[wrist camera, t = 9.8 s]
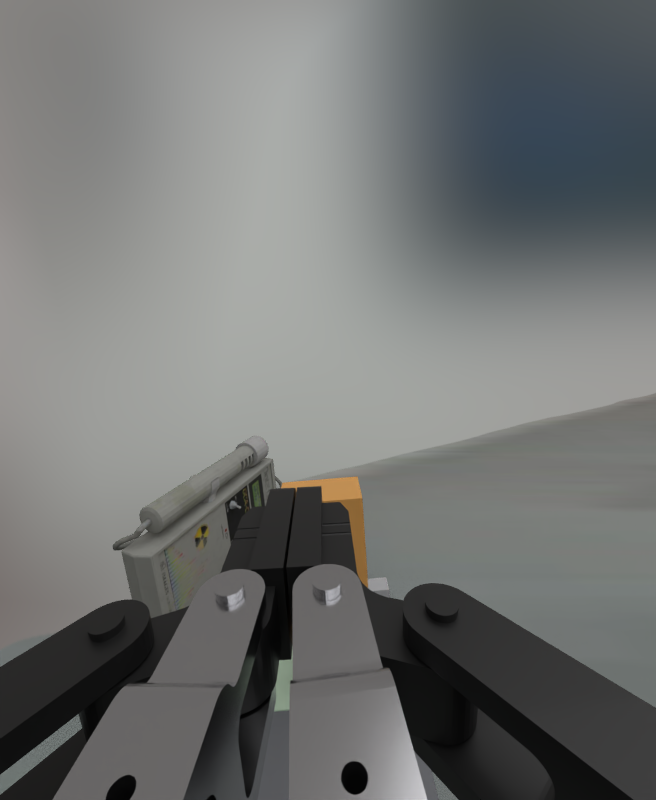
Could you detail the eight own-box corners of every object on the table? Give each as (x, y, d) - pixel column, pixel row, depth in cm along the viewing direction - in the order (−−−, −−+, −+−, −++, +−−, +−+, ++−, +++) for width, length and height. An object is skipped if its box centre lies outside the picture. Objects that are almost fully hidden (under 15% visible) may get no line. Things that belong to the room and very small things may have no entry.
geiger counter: (151, 521, 26) (296, 421, 49) (87, 512, 28) (254, 420, 51) (182, 680, 29) (305, 516, 52) (122, 660, 31) (266, 511, 54)
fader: (375, 689, 25) (362, 498, 22) (300, 696, 25) (277, 505, 22) (369, 650, 27) (357, 476, 24) (302, 656, 27) (282, 482, 24)
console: (565, 1370, 9) (572, 1318, 9) (178, 1402, 9) (158, 1353, 9) (387, 604, 35) (386, 577, 34) (282, 613, 35) (279, 586, 34)
